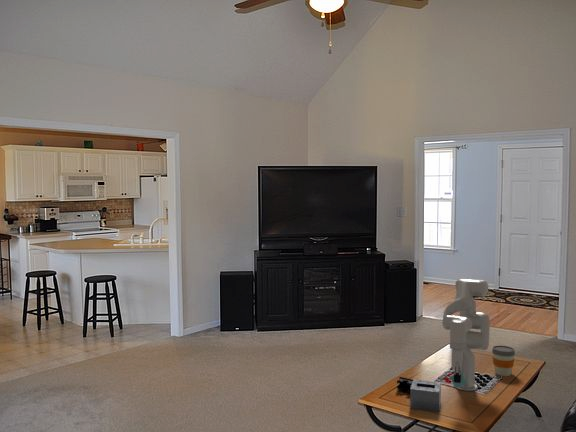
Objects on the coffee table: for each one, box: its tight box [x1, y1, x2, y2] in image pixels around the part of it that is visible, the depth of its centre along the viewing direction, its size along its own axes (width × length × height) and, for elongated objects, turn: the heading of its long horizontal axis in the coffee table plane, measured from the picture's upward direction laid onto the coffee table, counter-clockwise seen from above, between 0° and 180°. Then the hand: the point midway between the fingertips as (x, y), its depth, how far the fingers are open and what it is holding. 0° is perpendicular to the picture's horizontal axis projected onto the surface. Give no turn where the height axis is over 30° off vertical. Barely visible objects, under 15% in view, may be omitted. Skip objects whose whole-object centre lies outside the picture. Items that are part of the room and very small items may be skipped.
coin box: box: [409, 378, 442, 413], centre depth 271 cm, size 14×14×10 cm
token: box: [449, 371, 467, 389], centre depth 263 cm, size 2×6×6 cm, turn 71°
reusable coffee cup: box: [491, 345, 516, 377], centre depth 317 cm, size 12×13×15 cm
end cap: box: [396, 376, 413, 395], centre depth 290 cm, size 10×7×7 cm
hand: (457, 381), depth 263 cm, fingers closed on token, 1 cm apart
